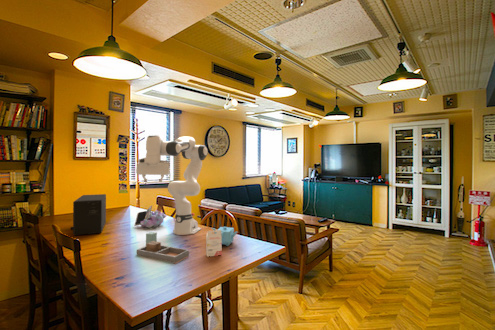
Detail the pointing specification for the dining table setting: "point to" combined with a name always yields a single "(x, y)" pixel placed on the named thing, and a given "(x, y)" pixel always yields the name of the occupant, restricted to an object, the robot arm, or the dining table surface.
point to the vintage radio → (89, 214)
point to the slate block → (151, 237)
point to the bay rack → (165, 254)
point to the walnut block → (153, 246)
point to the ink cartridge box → (213, 243)
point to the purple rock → (149, 218)
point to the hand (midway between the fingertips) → (153, 181)
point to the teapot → (226, 235)
